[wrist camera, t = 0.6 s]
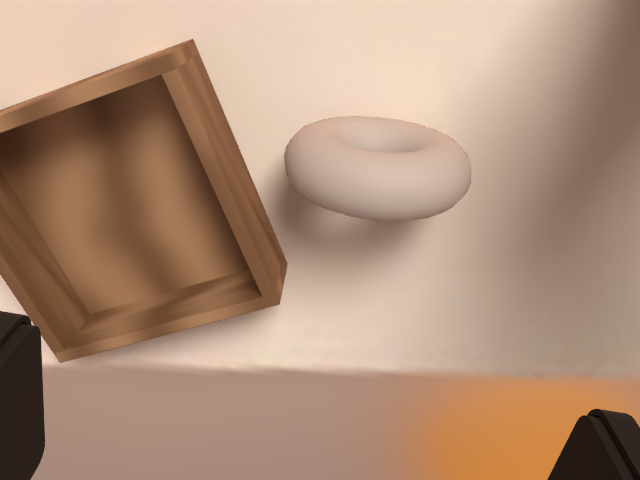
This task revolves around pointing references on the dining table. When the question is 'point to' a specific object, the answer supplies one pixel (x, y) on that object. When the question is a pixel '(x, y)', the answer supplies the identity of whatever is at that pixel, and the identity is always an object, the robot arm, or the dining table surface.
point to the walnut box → (131, 208)
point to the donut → (377, 168)
